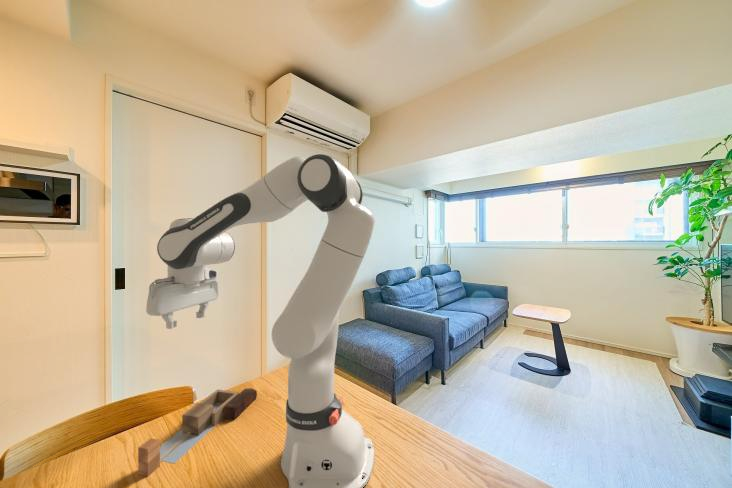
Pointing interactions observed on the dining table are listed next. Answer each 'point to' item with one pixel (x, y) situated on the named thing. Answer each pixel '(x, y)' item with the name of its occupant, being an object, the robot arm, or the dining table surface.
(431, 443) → the dining table surface
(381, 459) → the dining table surface
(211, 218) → the robot arm
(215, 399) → the shelf lane
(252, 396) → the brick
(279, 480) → the dining table surface
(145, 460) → the tethered block
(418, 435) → the dining table surface
